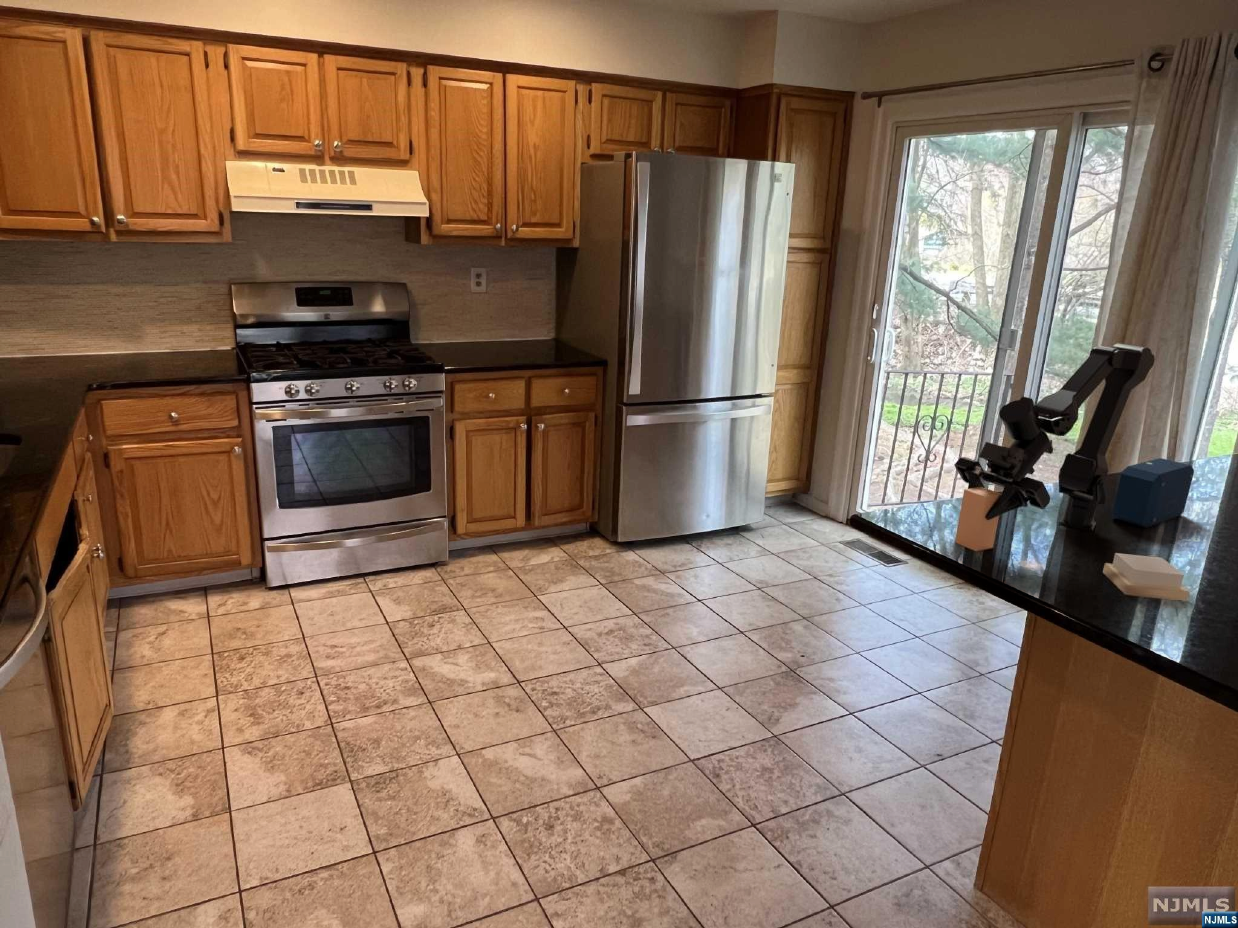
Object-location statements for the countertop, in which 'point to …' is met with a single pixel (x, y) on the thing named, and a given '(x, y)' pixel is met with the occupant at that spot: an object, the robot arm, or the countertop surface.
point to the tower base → (1144, 587)
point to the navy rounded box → (1152, 491)
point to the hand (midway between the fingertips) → (974, 514)
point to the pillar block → (977, 519)
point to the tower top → (1147, 570)
